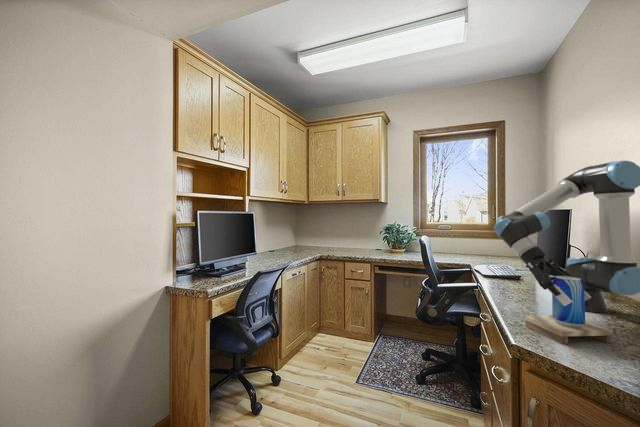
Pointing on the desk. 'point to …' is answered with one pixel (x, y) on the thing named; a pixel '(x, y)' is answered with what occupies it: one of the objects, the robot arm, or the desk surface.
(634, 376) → the desk surface
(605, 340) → the shelf stand
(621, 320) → the desk surface
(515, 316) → the desk surface
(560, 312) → the beer can
